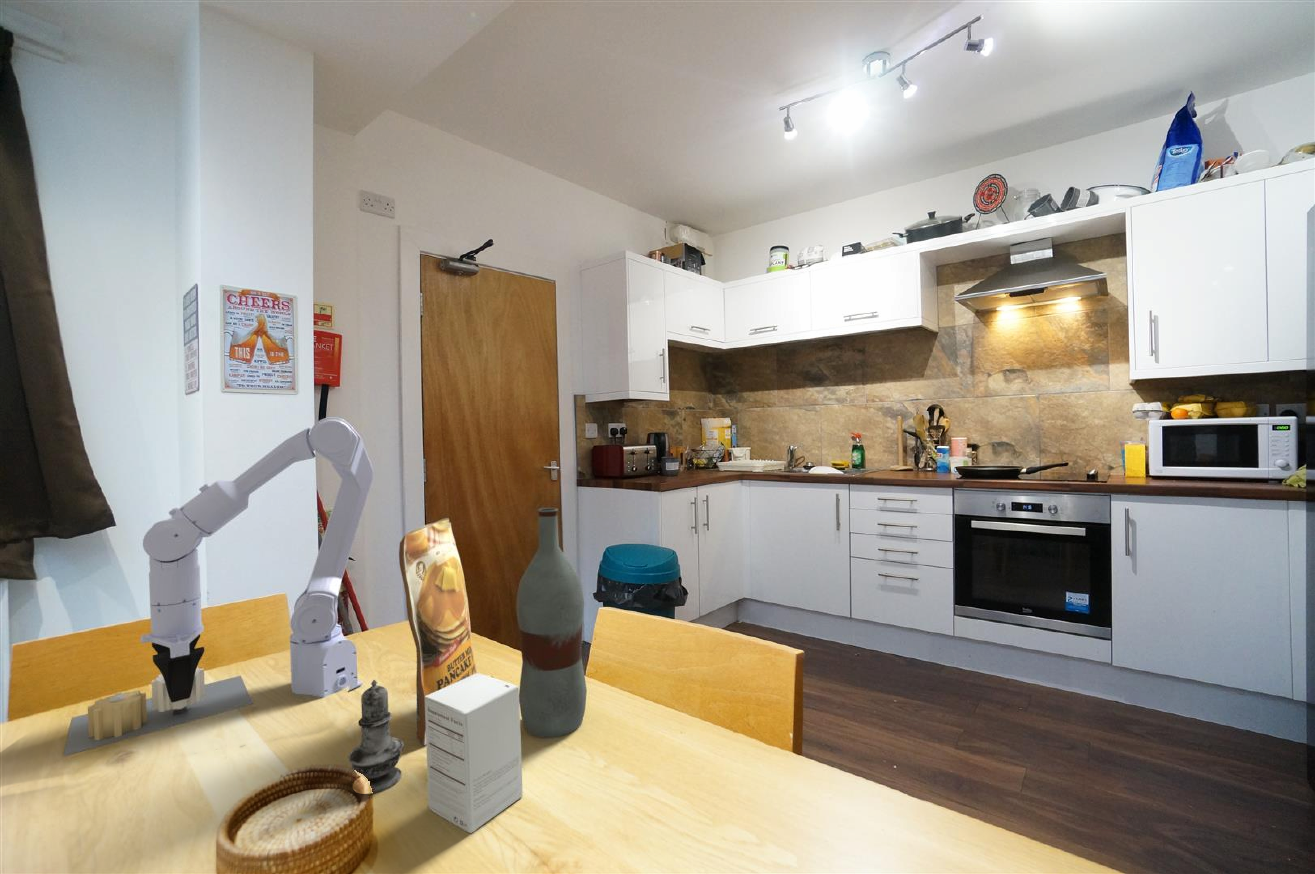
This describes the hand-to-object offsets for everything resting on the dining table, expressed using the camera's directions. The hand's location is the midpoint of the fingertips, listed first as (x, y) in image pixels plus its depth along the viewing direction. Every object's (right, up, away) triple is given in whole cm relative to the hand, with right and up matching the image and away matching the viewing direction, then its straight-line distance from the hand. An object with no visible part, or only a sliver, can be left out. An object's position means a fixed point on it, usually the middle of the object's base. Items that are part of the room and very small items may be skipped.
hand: (179, 692), depth 85 cm
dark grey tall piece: (+37, -3, -16) cm, 41 cm away
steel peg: (0, -4, 0) cm, 4 cm away
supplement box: (+50, -3, -21) cm, 55 cm away
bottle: (+56, -3, -4) cm, 56 cm away
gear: (0, -1, 0) cm, 1 cm away
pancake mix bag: (+40, -3, -1) cm, 40 cm away
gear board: (-3, -4, +1) cm, 5 cm away
